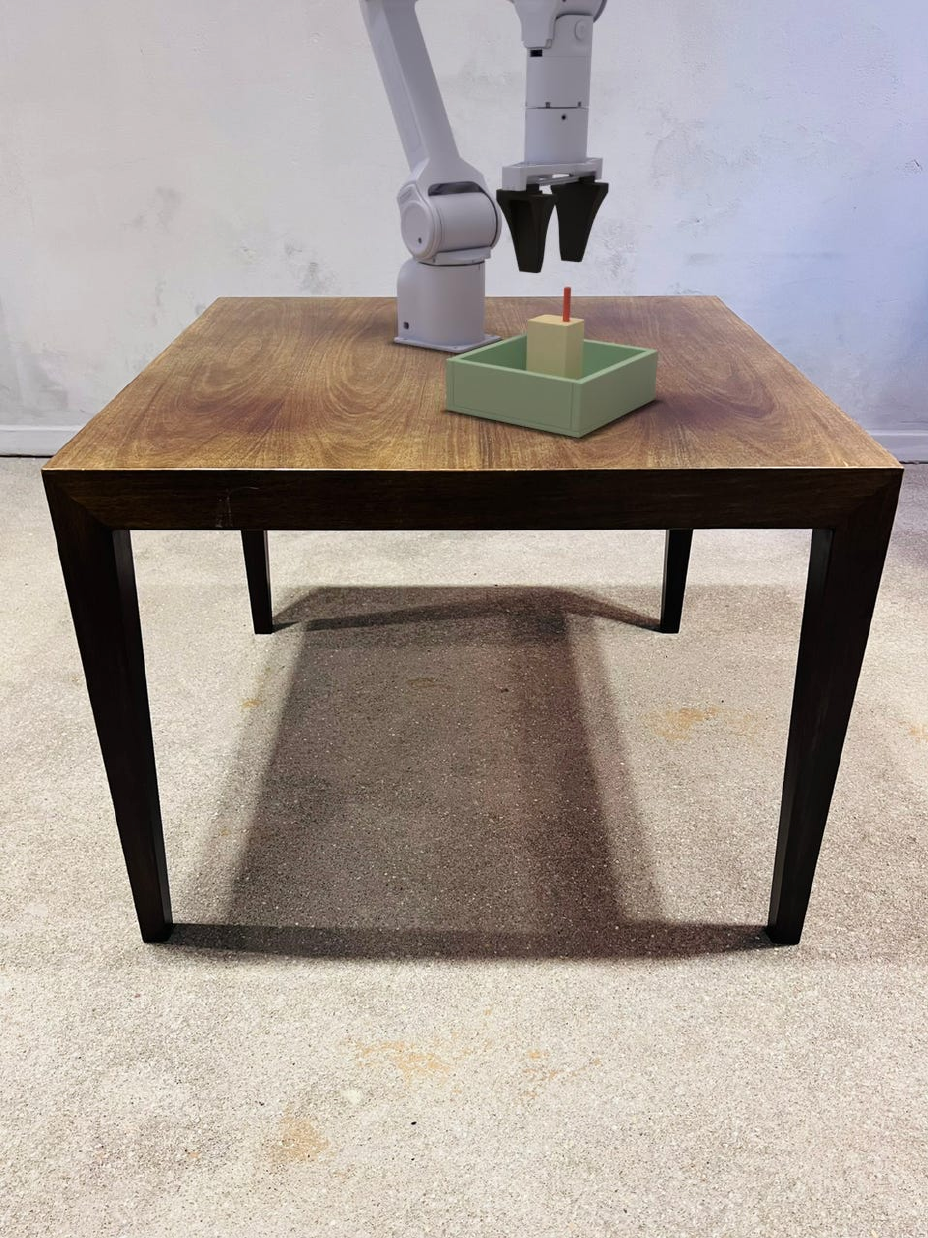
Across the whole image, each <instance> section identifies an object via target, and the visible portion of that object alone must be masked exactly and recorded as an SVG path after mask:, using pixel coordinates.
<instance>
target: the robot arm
mask: <svg viewBox="0 0 928 1238" xmlns="http://www.w3.org/2000/svg"><path fill="white" fill-rule="evenodd" d="M418 1H419V0H358V3H359V8H360V12H361V16H362V19H363V23H364V26H365V29H366V32H367V35H368V39H369V42H370V45H371V48H372V51H373V55H374V58H375V63H376V64H377V68H378V71H379V74H380V77H381V80H382V81H381V82H382V85H383V88H384V91H385V94H386V97H387V100H388V103H389V106H390V110H391V112H392V116H393V119H394V122H395V123H394V124H395V126H396V129H397V132H398V136H399V138H400V142H401V145H402V148H403V151H404V155H405V158H406V162H407V165H408V167H409V171H410V174H409V175H408V177H407V178H406V179H405V180H404V182H403V184H402V185H401V186H400V188H399V189H398V193H397V195H396V197H395V199H396V202H397V206H398V208H399V214H400V233H401V237H402V241H403V243H404V245H405V248H406V249H407V251H408V252H409V253H410V255H411V256H412V257H410V258H408V259H407V260H406V261H405V262H404V263H402V266H401V267H400V269H399V272H398V276H397V281H396V305H397V331H398V336H396V337H393V342H394V343H396V344H402V345H407V346H414V347H419V348H420V347H421V348H425V349H431V350H437V351H442V352H448V353H454V354H464V353H467V352H470V351H473V350H476V349H479V348H482V347H485V346H488V345H490V344H493V343H496V342H499V341H502V340H501V339H502V338H501V336H500V335H497V334H489V333H486V260H489V259H491V258H492V250H493V249H495V247H496V246H497V245H498V243H499V241H500V238H501V236H502V230H503V217H502V216H504V219H505V221H506V224H507V226H508V231H509V233H510V237H511V240H512V245H513V249H514V254H515V258H516V263H517V267H518V271H519V273H530V274H540V273H541V272H542V269H543V265H544V260H545V252H546V242H547V235H548V230H549V224H550V221H551V219H552V218H551V217H552V214H553V211H554V208H555V211H556V217H557V226H558V229H557V230H558V248H559V256H560V261H561V262H568V263H569V262H570V263H581V262H583V259H584V256H585V253H586V249H587V245H588V241H589V238H590V234H591V231H592V228H593V226H594V222H595V219H596V217H597V214H598V212H599V210H600V208H601V206H602V204H603V202H604V201H605V199H606V197H607V195H608V194H609V189H610V183H609V182H604V181H603V182H602V181H599V180H602V179H603V163H604V157H599V156H598V157H595V156H587V152H588V134H589V133H588V131H589V112H590V94H591V77H592V75H591V74H592V72H591V71H592V57H593V56H592V54H593V51H592V50H593V38H594V37H593V36H594V35H593V34H594V33H593V32H594V24H595V23H596V22H597V21H599V19H600V18H601V16H602V15H603V13H604V11H605V9H606V6H607V4H608V0H507V1H508V2H509V3H511V4H512V5H514V9H515V12H516V15H517V16H518V18H519V21H520V25H521V28H520V29H521V32H520V33H521V35H520V37H521V38H520V40H521V42H523V43H522V45H523V48H525V49H526V60H525V62H526V65H525V71H526V72H525V103H524V104H525V109H524V146H523V147H524V148H523V149H524V151H523V161H520V162H517V163H513V164H508V165H503V166H501V188H498V189H496V190H495V196H494V194H492V192H491V191H490V189H489V187H488V186H487V183H486V179H485V177H484V173H482V172H481V171H479V170H478V169H477V168H475V167H474V165H473V166H472V164H471V163H469V162H468V161H466V160H465V159H464V158H462V157H461V156H460V153H459V149H458V146H457V142H456V140H455V136H454V132H453V130H452V127H451V123H450V120H449V116H448V114H447V111H446V107H445V104H444V101H443V98H442V94H441V91H440V88H439V85H438V81H437V79H436V75H435V71H434V68H433V65H432V61H431V58H430V55H429V52H428V48H427V45H426V42H425V39H424V36H423V32H422V29H421V25H420V22H419V19H418V16H417V12H416V7H415V6H416V3H417V2H418ZM554 175H564V176H558V177H554ZM546 186H547V187H548V186H549V189H550V192H551V193H544V190H543V189H540V188H541V187H546ZM502 214H503V215H502Z"/></svg>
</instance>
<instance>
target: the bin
mask: <svg viewBox="0 0 928 1238" xmlns="http://www.w3.org/2000/svg"><path fill="white" fill-rule="evenodd" d="M658 360H659V350H658V349H652V348H647V347H641V346H633V345H626V344H620V343H614V342H607V341H601V340H595V339H594V340H592V339H587V338H584V345H583V364H582V379H580V380H575V379H569V378H563V377H558V376H552V375H546V374H541V373H535V372H529V371H526V361H527V331H526V332H523V333H521V334H517V335H515V336H512V337H508V338H505V339H503V340H500V341H497V342H494V343H491V344H488V345H485V346H482V347H479V348H476V349H473V350H470V351H467V352H464V353H460V354H458V355H454V356H452V357H449V358H446V359H445V384H446V385H445V395H446V396H445V397H446V399H445V401H446V402H445V403H446V411H449V412H454V413H455V412H456V413H460V414H464V415H469V416H473V417H478V418H483V419H487V420H492V421H498V422H501V423H505V424H511V425H516V426H519V427H526V428H531V429H535V430H540V431H544V432H549V433H553V434H558V435H562V436H563V435H564V436H567V437H573V438H577V439H579V438H582V437H584V436H585V435H587V434H589V433H591V432H593V431H596V430H598V429H599V428H601V427H603V426H605V425H608V424H609V423H611V422H613V421H615V420H617V419H619V418H621V417H623V416H624V415H627V414H629V413H630V412H633V411H634V410H635V411H636V409H639V408H640V407H643V406H644V405H646V404H648V403H650V402H652V401H654V400H655V396H656V395H655V393H656V385H657V384H656V382H657V372H658Z"/></svg>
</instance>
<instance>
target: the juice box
mask: <svg viewBox="0 0 928 1238" xmlns="http://www.w3.org/2000/svg"><path fill="white" fill-rule="evenodd" d="M571 301H572V287H571V286H565V287H563V304H562V305H563V306H562V315H554V314H548V313H547V314H541V315H539V316H536V317H533V318H530V319H528V320H527V321H526V322H527V330H526V332H527V361H526V371H529V372H535V373H541V374H546V375H552V376H558V377H563V378H569V379H575V380H580V379H582V364H583V345H584V339H585V326H586V325H585V324H586V320H585V319H583V318H577V317H571Z"/></svg>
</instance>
